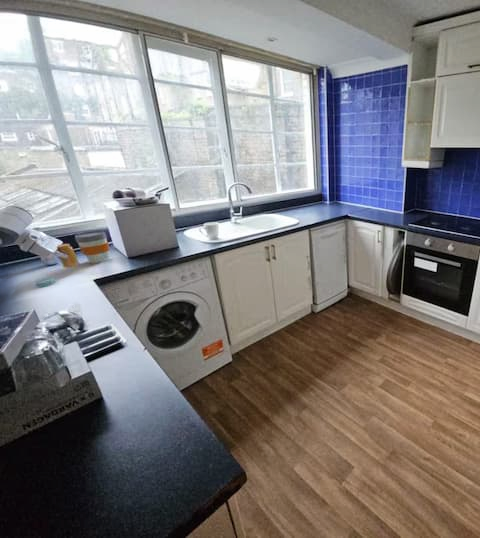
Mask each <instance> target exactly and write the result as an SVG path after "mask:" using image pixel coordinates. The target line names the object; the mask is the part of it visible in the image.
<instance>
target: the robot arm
mask: <svg viewBox="0 0 480 538" xmlns="http://www.w3.org/2000/svg"><path fill="white" fill-rule="evenodd" d="M33 220H34V217H33V215H32V213H31V212H30V211H28V210H27V209H25V208H23V207H20V206H16V205H6V206H5V207H3V208H1V209H0V246H9V245H13V244H15V245H17V246H19V248H20V250H21V251H23V252H29V253H32V254H33V255H36V256H39V257H40V256H42V257H45V258H51V256H52V255H54V256H58V258H59V257H62V258H65V259H66V258H67V257H68V255H67V254H65V253H64V254H63V253H60V252H59V251H56V250H57V249H58V248H57V246H58V245H61V244H64V242H63V241H62V240H61V239H58V238H56V237H53V236H51V235H48V234H46V235H43V233H44V232H42V231H41V232H42V233H41V232H39V231H36V230H34V229H32V228H33V227H29V226H30V225H31V224H32V222H33Z"/></svg>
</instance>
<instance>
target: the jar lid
mask: <svg viewBox="0 0 480 538" xmlns="http://www.w3.org/2000/svg"><path fill="white" fill-rule="evenodd" d="M55 283H56V279H55V278H54V277H46V278H41V279H38V280H36V281H35V282H34V286H35V287H36V288H44V287H48V286H52V285H54V284H55Z"/></svg>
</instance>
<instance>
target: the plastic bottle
mask: <svg viewBox="0 0 480 538" xmlns="http://www.w3.org/2000/svg"><path fill="white" fill-rule="evenodd" d="M31 228H32V229H34V230H36V231H39V232H41V233H43V235H47V234H46V233H45V232H42V229H41V227H40V226H36V227H31ZM39 257H40V261H41V263H42V264H43V265H44V266H51V265H53V266H54V265H56V264H59V262H60V258H59V257H58V256H54V255H52V256H51V258H45V257H42V256H39Z"/></svg>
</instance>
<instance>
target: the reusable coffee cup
mask: <svg viewBox="0 0 480 538" xmlns="http://www.w3.org/2000/svg"><path fill="white" fill-rule="evenodd" d="M74 239H75V241H76V242H75V243H77V244H78V247H79V249H80V251H81V252H82V254H83V255H84V256H85V258H86V259H87V261H88V262H89V264H99V263H104V262H107V261H109V260H111V253H110V244H109V241H108V239H107V235H106V232H105V231H103V230H93V231H86V232H82V233H78V234H76V235H74Z"/></svg>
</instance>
